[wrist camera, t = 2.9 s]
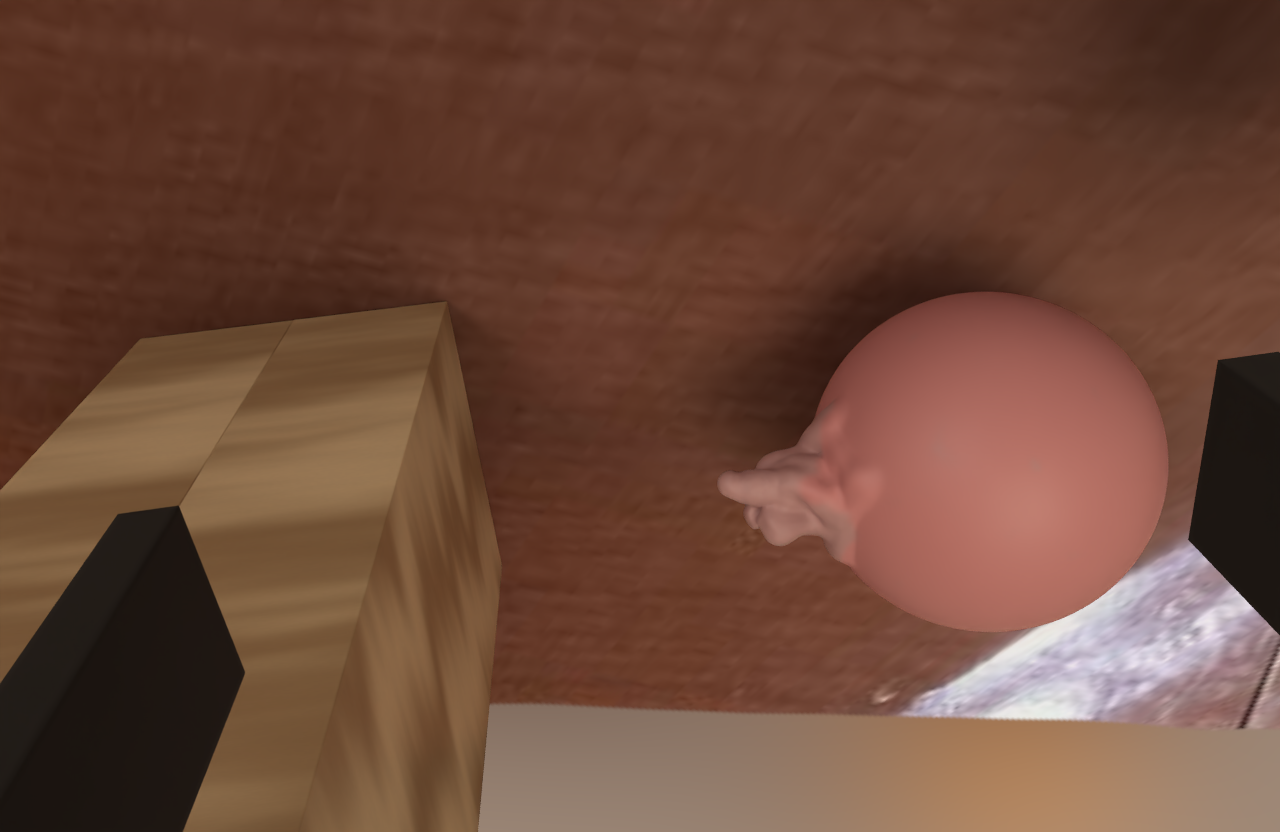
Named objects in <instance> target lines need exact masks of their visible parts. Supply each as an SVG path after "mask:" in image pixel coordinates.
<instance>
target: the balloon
mask: <svg viewBox="0 0 1280 832" xmlns="http://www.w3.org/2000/svg"><path fill="white" fill-rule="evenodd" d="M1167 482H1168V447H1167V439H1166V433H1165V429H1164V425H1163V421H1162V417H1161V414H1160V411H1159V408H1158V406H1157V403H1156V401H1155V398H1154V396H1153V394H1152V392H1151V390H1150V388H1149V386H1148V384H1147V383H1146V381H1145V379H1144V377H1143V376H1142V374H1141V373H1140V371H1139V370H1138V368H1137V367H1136V366H1135V364H1134V363H1133V362H1132V360H1131V359H1130V358H1129V357H1128V355H1127V354H1126V353H1125V352H1124V351H1123V350H1122V349H1121V348H1120V347H1119V346H1118V345H1117V344H1116V343H1115V342H1114V341H1113V340H1112V339H1111V338H1110V337H1109V336H1107V335H1106V334H1105V333H1104V332H1102V331H1101V330H1100V329H1099V328H1097V327H1096V326H1094V325H1093V324H1091V323H1090V322H1088V321H1087V320H1085V319H1084V318H1082V317H1080V316H1078V315H1077V314H1075V313H1073V312H1071V311H1069V310H1067V309H1065V308H1062V307H1060V306H1058V305H1055V304H1052V303H1049V302H1047V301H1044V300H1040V299H1037V298H1033V297H1029V296H1024V295H1019V294H1013V293H1005V292H967V293H959V294H953V295H948V296H943V297H939V298H935V299H932V300H929V301H926V302H923V303H920V304H918V305H915V306H913V307H911V308H908V309H906V310H904V311H902V312H900V313H898V314H897V315H895V316H893V317H891V318H890V319H888V320H887V321H885V322H884V323H882V324H881V325H879V326H878V327H876V328H875V329H874V330H873V331H871V332H870V333H869V334H868V335H867V336H865V337H864V338H863V339H862V340H861V341H860V342H859V343H858V344H857V345H856V346H855V347H854V348H853V349H852V350H851V351H850V353H849V354H848V355H847V356H846V357H845V359H844V360H843V361H842V362H841V364H840V365H839V367H838V368H837V370H836V371H835V373H834V374H833V376H832V378H831V379H830V381H829V383H828V385H827V387H826V389H825V391H824V393H823V395H822V398H821V400H820V403H819V406H818V409H817V412H816V415H815V419H814V420H813V422H812V423H811V424H810V425H809V427H808V428H807V429H806V430H805V431H804V433H803V434H802V436H801V438H800V440H799V441H798V443H797V445H796V446H794V447H791V448H788V449H784V450H777V451H774V452H771V453H769V454H767V455H765V456H764V457H762V458H761V459H760V460H759V462H758V463H757V465H756V467H755V469H754V470H745V471H743V472H736V471H732V470H728V471H725V472H724V473H722V474H721V475H720V476H719V478H718V481H717V485H718V488H719V491H720V492H721V494H723V495H724V496H726V497H728V498H730V499H732V500H735V501H737V502H739V503H742V504H745V507H744V513H743V514H744V518H745V520H746V522H747V523H748V524H749V526H750V527H751V528H753V529H759V528H760V529H761V531H762V533H763V535H764V537H765V538H766V540H767V541H768V542H769V543H771V544H773V545H776V546H784V545H787V544H789V543H791V542H793V541H794V540H796V539H797V538H798V537H800V536H803V535H817V536H820V537H822V539H823V541H824V544H825V547H826V549H827V551H828V552H829V553H830V555H831V556H832V557H833V558H835V559H836V560H838V561H839V562H842V563H844V564H847V565H848V566H849V567H850V568H851V570H852V571H853V572H854V573H855V574H856V575H857V576H858V577H859V578H860V579H861V580H862V581H863V582H864V583H865V584H866V585H867V586H868V587H870V588H871V589H872V590H873V591H875V592H876V593H877V594H878V595H880V596H881V597H883V598H884V599H885V600H887V601H888V602H890V603H891V604H893V605H895V606H896V607H898V608H900V609H902V610H904V611H906V612H908V613H910V614H912V615H914V616H916V617H919V618H921V619H924V620H926V621H929V622H932V623H935V624H939V625H942V626H946V627H950V628H955V629H961V630H967V631H978V632H1006V631H1016V630H1022V629H1027V628H1032V627H1037V626H1041V625H1044V624H1047V623H1051V622H1054V621H1056V620H1059V619H1062V618H1064V617H1066V616H1068V615H1070V614H1073V613H1075V612H1076V611H1078V610H1080V609H1082V608H1084V607H1086V606H1087V605H1089V604H1091V603H1092V602H1094V601H1095V600H1097V599H1098V598H1099V597H1101V596H1102V595H1103V594H1105V593H1106V592H1107V591H1108V590H1109V589H1111V588H1112V587H1113V586H1114V585H1115V584H1116V583H1117V582H1118V581H1119V580H1120V579H1121V578H1122V577H1123V576H1124V575H1125V574H1126V573H1127V572H1128V571H1129V569H1130V568H1131V567H1132V566H1133V565H1134V563H1135V562H1136V561H1137V559H1138V558H1139V556H1140V555H1141V553H1142V552H1143V550H1144V549H1145V547H1146V545H1147V544H1148V542H1149V540H1150V538H1151V536H1152V534H1153V532H1154V530H1155V527H1156V525H1157V522H1158V520H1159V517H1160V514H1161V511H1162V507H1163V504H1164V499H1165V495H1166V489H1167Z"/></svg>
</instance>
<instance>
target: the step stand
mask: <svg viewBox="0 0 1280 832" xmlns="http://www.w3.org/2000/svg"><path fill="white" fill-rule="evenodd" d="M178 505H179V507H180V510H181V512H182V515H183V517H184V520H185V522H186V525H187V527H188V530H189V532H190V535H191V537H192V540H193V542H194V545H195V547H196V550H197V552H198V555H199V557H200V560H201V562H202V565H203V567H204V570H205V572H206V575H207V577H208V580H209V582H210V585H211V587H212V590H213V592H214V595H215V597H216V600H217V602H218V605H219V607H220V610H221V612H222V615H223V617H224V620H225V622H226V625H227V627H228V630H229V632H230V635H231V637H232V640H233V642H234V645H235V647H236V650H237V652H238V655H239V658H240V660H241V663H242V665H243V668H244V670H245V675H244V678H243V680H242V683H241V685H240V688H239V691H238V693H237V696H236V698H235V701H234V703H233V706H232V708H231V711H230V713H229V716H228V718H227V721H226V724H225V726H224V729H223V731H222V734H221V736H220V739H219V741H218V744H217V746H216V749H215V751H214V754H213V757H212V759H211V762H210V764H209V767H208V769H207V772H206V774H205V777H204V779H203V782H202V784H201V787H200V790H199V792H198V795H197V797H196V800H195V802H194V805H193V807H192V810H191V812H190V815H189V818H188V820H187V823H186V825H185V828H184V830H183V832H478V825H479V814H480V802H481V791H482V781H483V770H484V758H485V747H486V737H487V725H488V715H489V704H490V693H491V682H492V671H493V660H494V649H495V638H496V627H497V616H498V605H499V595H500V584H501V573H502V563H501V558H500V554H499V549H498V544H497V539H496V534H495V530H494V525H493V520H492V515H491V510H490V505H489V501H488V496H487V491H486V486H485V481H484V477H483V472H482V467H481V462H480V457H479V452H478V448H477V443H476V438H475V433H474V428H473V424H472V419H471V414H470V409H469V404H468V399H467V395H466V390H465V385H464V380H463V375H462V371H461V366H460V361H459V356H458V351H457V347H456V342H455V337H454V332H453V327H452V322H451V318H450V313H449V308H448V303H447V301H445V302H437V303H429V304H421V305H412V306H404V307H396V308H388V309H380V310H371V311H363V312H355V313H347V314H339V315H330V316H322V317H314V318H306V319H298V320H294V321H293V320H291V321H283V322H275V323H266V324H258V325H250V326H242V327H234V328H225V329H217V330H209V331H201V332H193V333H184V334H176V335H168V336H160V337H152V338H143V339H140V340H139V341H138V342H137V343H136V344H135V345H134V346H133V347H132V348H131V349H130V351H129V352H128V353H127V354H126V355H125V356H124V357H123V358H122V359H121V360H120V361H119V362H118V364H117V365H116V366H115V367H114V368H113V369H112V370H111V371H110V372H109V373H108V374H107V375H106V376H105V378H104V379H103V380H102V381H101V382H100V383H99V384H98V385H97V386H96V387H95V388H94V389H93V391H92V392H91V393H90V394H89V395H88V396H87V397H86V398H85V399H84V400H83V401H82V402H81V404H80V405H79V406H78V407H77V408H76V409H75V410H74V411H73V412H72V413H71V414H70V415H69V417H68V418H67V419H66V420H65V421H64V422H63V423H62V424H61V425H60V426H59V427H58V428H57V430H56V431H55V432H54V433H53V434H52V435H51V436H50V437H49V438H48V439H47V440H46V441H45V442H44V444H43V445H42V446H41V447H40V448H39V449H38V450H37V451H36V452H35V453H34V454H33V455H32V457H31V458H30V459H29V460H28V461H27V462H26V463H25V464H24V465H23V466H22V467H21V468H20V470H19V471H18V472H17V473H16V474H15V475H14V476H13V477H12V478H11V479H10V480H9V481H8V483H7V484H6V485H5V486H4V487H3V488H2V489H1V490H0V683H1V681H2V680H3V679H4V677H5V676H6V674H7V673H8V671H9V670H10V668H11V667H12V666H13V664H14V663H15V661H16V660H17V658H18V657H19V655H20V654H21V653H22V651H23V650H24V648H25V647H26V645H27V644H28V643H29V641H30V640H31V638H32V637H33V635H34V634H35V632H36V631H37V630H38V628H39V627H40V625H41V624H42V622H43V621H44V619H45V618H46V617H47V615H48V614H49V612H50V611H51V609H52V608H53V606H54V605H55V604H56V602H57V601H58V599H59V598H60V596H61V595H62V594H63V592H64V591H65V589H66V588H67V586H68V585H69V583H70V582H71V581H72V579H73V578H74V576H75V575H76V573H77V572H78V570H79V569H80V568H81V566H82V565H83V563H84V562H85V560H86V559H87V557H88V556H89V555H90V553H91V552H92V550H93V549H94V547H95V546H96V545H97V543H98V542H99V540H100V539H101V537H102V536H103V534H104V533H105V532H106V530H107V529H108V527H109V526H110V524H111V523H112V521H113V520H114V519H115V517H116V516H117V514H121V513H128V512H135V511H142V510H150V509H157V508H164V507H171V506H178Z"/></svg>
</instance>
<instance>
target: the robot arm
mask: <svg viewBox="0 0 1280 832" xmlns="http://www.w3.org/2000/svg"><path fill="white" fill-rule="evenodd" d="M1188 540H1189V541H1190V542H1191V543H1192V544H1193V545H1194V546H1195V547H1196V548H1197V549H1198V550H1199V551H1200V552H1201V553H1202V555H1203V556H1204V557H1205V558H1206V559H1207V560H1208V561H1209V562H1210V563H1211V564H1212V565H1213V566H1214V567H1215V568H1216V569H1217V570H1218V571H1219V572H1220V573H1221V574H1222V575H1223V576H1224V578H1225V579H1226V580H1227V581H1228V582H1229V583H1230V584H1231V585H1232V586H1233V587H1234V588H1235V589H1236V590H1237V591H1238V592H1239V593H1240V594H1241V595H1242V596H1243V597H1244V598H1245V599H1246V601H1247V602H1248V603H1249V604H1250V605H1251V606H1252V607H1253V608H1254V609H1255V610H1256V611H1257V612H1258V613H1259V614H1260V615H1261V616H1262V617H1263V618H1264V619H1265V620H1266V621H1267V622H1268V624H1269V625H1270V626H1271V627H1272V628H1273V629H1274V630H1275V631H1276V632H1277V633H1278V634H1279V635H1280V353H1279V352H1274V353H1266V354H1259V355H1252V356H1245V357H1238V358H1231V359H1223V360H1218V364H1217V370H1216V376H1215V382H1214V388H1213V394H1212V400H1211V406H1210V412H1209V418H1208V424H1207V430H1206V436H1205V442H1204V448H1203V454H1202V460H1201V466H1200V472H1199V478H1198V484H1197V490H1196V496H1195V502H1194V508H1193V514H1192V521H1191V527H1190V533H1189V539H1188ZM244 675H245V670H244V668H243V665H242V663H241V660H240V658H239V655H238V652H237V650H236V647H235V645H234V642H233V640H232V637H231V635H230V632H229V630H228V627H227V625H226V622H225V620H224V617H223V615H222V612H221V610H220V607H219V605H218V602H217V600H216V597H215V595H214V592H213V590H212V587H211V585H210V582H209V580H208V577H207V575H206V572H205V570H204V567H203V565H202V562H201V560H200V557H199V555H198V552H197V550H196V547H195V545H194V542H193V540H192V537H191V535H190V532H189V530H188V527H187V525H186V522H185V520H184V517H183V515H182V512H181V510H180V507H179V505H178V506H171V507H164V508H157V509H150V510H142V511H135V512H128V513H121V514H117V516H116V517H115V519H114V520H113V521H112V523H111V524H110V526H109V527H108V529H107V530H106V532H105V533H104V534H103V536H102V537H101V539H100V540H99V542H98V543H97V545H96V546H95V547H94V549H93V550H92V552H91V553H90V555H89V556H88V557H87V559H86V560H85V562H84V563H83V565H82V566H81V568H80V569H79V570H78V572H77V573H76V575H75V576H74V578H73V579H72V581H71V582H70V583H69V585H68V586H67V588H66V589H65V591H64V592H63V594H62V595H61V596H60V598H59V599H58V601H57V602H56V604H55V605H54V606H53V608H52V609H51V611H50V612H49V614H48V615H47V617H46V618H45V619H44V621H43V622H42V624H41V625H40V627H39V628H38V630H37V631H36V632H35V634H34V635H33V637H32V638H31V640H30V641H29V643H28V644H27V645H26V647H25V648H24V650H23V651H22V653H21V654H20V655H19V657H18V658H17V660H16V661H15V663H14V664H13V666H12V667H11V668H10V670H9V671H8V673H7V674H6V676H5V677H4V679H3V680H2V681H1V683H0V832H183V830H184V828H185V825H186V823H187V820H188V818H189V815H190V812H191V810H192V807H193V805H194V802H195V800H196V797H197V795H198V792H199V790H200V787H201V784H202V782H203V779H204V777H205V774H206V772H207V769H208V767H209V764H210V762H211V759H212V757H213V754H214V751H215V749H216V746H217V744H218V741H219V739H220V736H221V734H222V731H223V729H224V726H225V724H226V721H227V718H228V716H229V713H230V711H231V708H232V706H233V703H234V701H235V698H236V696H237V693H238V691H239V688H240V685H241V683H242V680H243V678H244Z"/></svg>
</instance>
